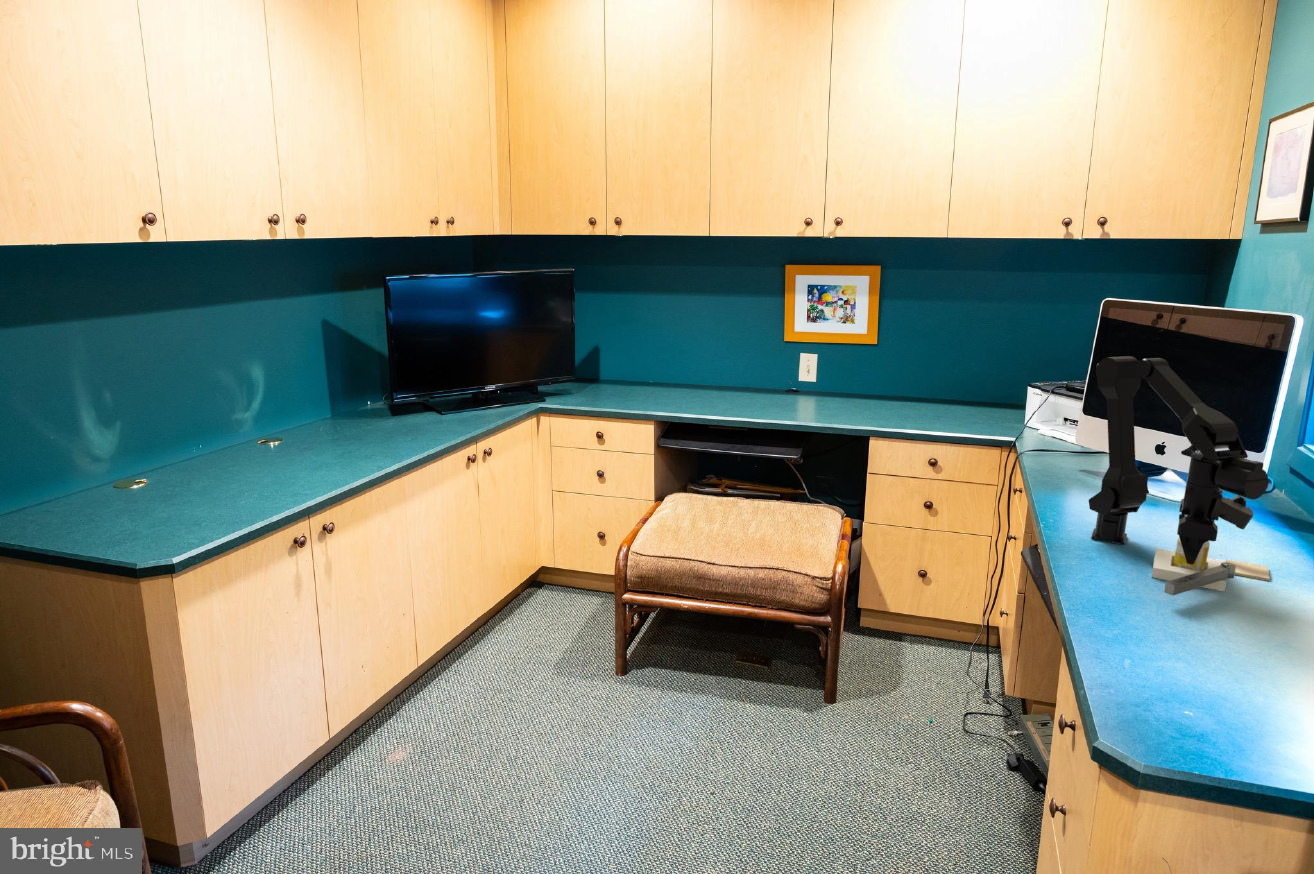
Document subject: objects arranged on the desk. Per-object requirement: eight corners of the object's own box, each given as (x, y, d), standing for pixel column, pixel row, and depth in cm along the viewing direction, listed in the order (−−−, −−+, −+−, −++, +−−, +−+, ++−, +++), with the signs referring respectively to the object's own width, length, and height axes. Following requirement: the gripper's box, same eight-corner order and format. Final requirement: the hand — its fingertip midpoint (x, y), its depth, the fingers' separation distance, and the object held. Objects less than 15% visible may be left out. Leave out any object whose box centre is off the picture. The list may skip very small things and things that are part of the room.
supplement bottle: (1181, 578, 168) (1190, 532, 165) (1166, 567, 173) (1174, 522, 170) (1209, 579, 168) (1218, 532, 165) (1193, 568, 173) (1201, 522, 170)
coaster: (1225, 561, 177) (1226, 559, 176) (1267, 568, 173) (1267, 566, 173) (1226, 573, 171) (1226, 570, 171) (1269, 581, 167) (1269, 578, 167)
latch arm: (1223, 572, 165) (1225, 561, 165) (1236, 576, 163) (1238, 566, 163) (1161, 591, 156) (1163, 580, 156) (1174, 596, 154) (1176, 585, 154)
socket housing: (1154, 557, 178) (1156, 548, 178) (1223, 569, 172) (1225, 560, 172) (1151, 577, 168) (1153, 567, 168) (1224, 591, 162) (1226, 581, 162)
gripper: (1257, 504, 154) (1240, 585, 158) (1252, 478, 169) (1237, 552, 173) (1184, 493, 159) (1170, 571, 163) (1186, 468, 175) (1173, 541, 179)
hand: (1190, 559), depth 170 cm, fingers closed on supplement bottle, 5 cm apart
